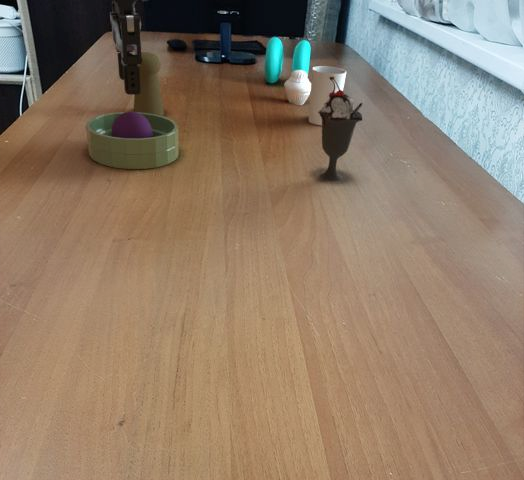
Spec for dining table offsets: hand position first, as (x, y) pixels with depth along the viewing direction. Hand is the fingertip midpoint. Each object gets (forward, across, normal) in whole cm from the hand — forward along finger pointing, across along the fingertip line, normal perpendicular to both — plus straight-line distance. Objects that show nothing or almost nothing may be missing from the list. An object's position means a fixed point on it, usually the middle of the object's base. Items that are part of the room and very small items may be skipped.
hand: (129, 86), depth 87 cm
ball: (+7, 0, 0) cm, 7 cm away
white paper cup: (+11, -16, +40) cm, 44 cm away
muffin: (+11, -30, +39) cm, 51 cm away
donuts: (+11, -47, +42) cm, 64 cm away
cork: (+11, -23, +5) cm, 26 cm away
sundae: (+11, +13, +30) cm, 34 cm away
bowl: (+11, 0, 0) cm, 11 cm away
